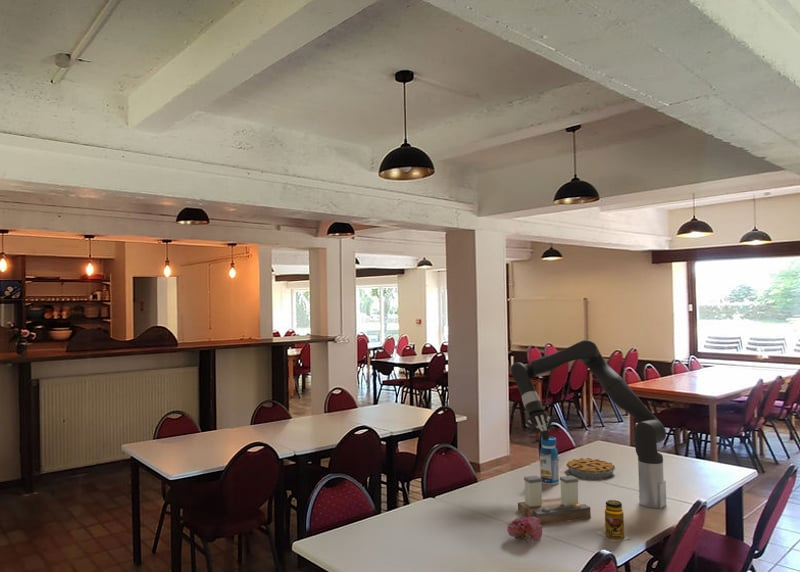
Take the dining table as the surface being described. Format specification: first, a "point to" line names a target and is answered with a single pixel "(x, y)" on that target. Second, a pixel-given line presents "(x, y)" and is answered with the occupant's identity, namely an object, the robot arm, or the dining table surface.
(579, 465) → the pie
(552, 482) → the beverage bottle
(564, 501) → the marked plunger
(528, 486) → the plunger
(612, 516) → the condiment
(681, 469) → the dining table surface
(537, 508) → the button board
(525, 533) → the flower
